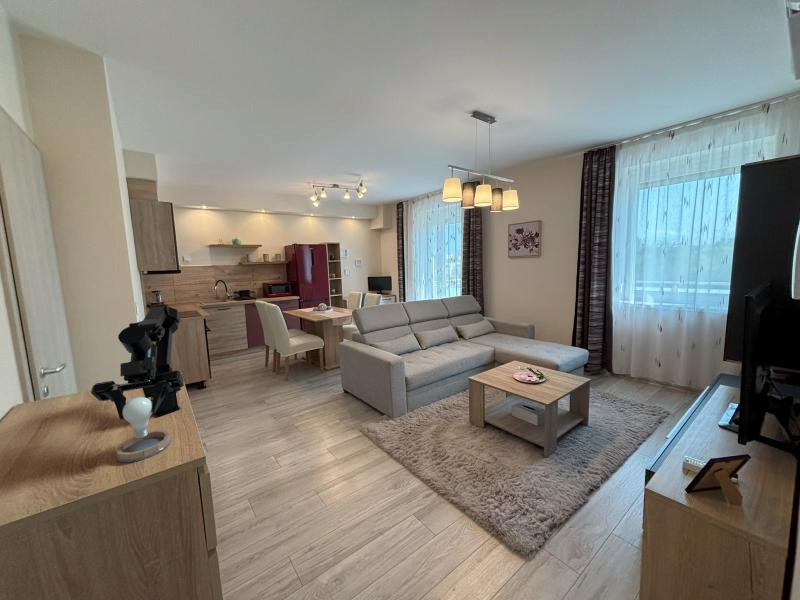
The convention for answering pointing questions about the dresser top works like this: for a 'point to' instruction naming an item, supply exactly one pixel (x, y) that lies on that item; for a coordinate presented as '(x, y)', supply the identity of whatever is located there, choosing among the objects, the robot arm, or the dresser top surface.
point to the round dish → (143, 446)
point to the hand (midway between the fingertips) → (137, 416)
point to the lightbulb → (138, 415)
